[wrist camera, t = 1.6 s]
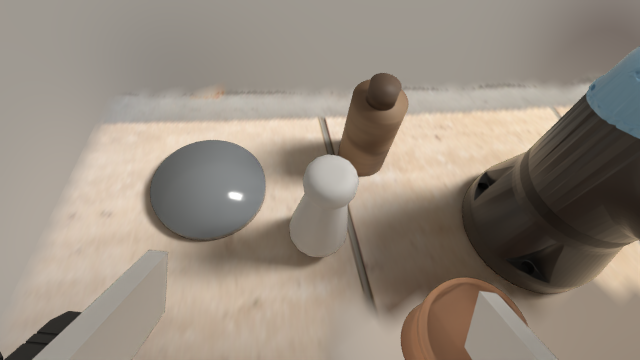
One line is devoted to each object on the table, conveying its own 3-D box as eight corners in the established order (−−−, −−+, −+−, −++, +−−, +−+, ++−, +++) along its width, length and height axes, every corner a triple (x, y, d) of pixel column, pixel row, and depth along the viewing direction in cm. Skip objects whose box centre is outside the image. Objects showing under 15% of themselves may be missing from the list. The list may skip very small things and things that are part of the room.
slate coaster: (255, 138, 44) (255, 133, 43) (274, 227, 38) (274, 223, 37) (151, 153, 41) (148, 148, 40) (154, 251, 36) (151, 248, 35)
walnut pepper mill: (374, 135, 46) (402, 61, 36) (389, 172, 43) (424, 102, 33) (332, 142, 45) (349, 66, 35) (345, 179, 42) (367, 110, 32)
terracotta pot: (463, 288, 37) (498, 267, 31) (505, 383, 33) (556, 380, 27) (383, 309, 35) (404, 291, 29) (418, 413, 31) (451, 417, 25)
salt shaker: (278, 229, 38) (279, 161, 27) (322, 203, 40) (339, 130, 29) (309, 275, 36) (324, 221, 25) (353, 245, 38) (386, 184, 27)
